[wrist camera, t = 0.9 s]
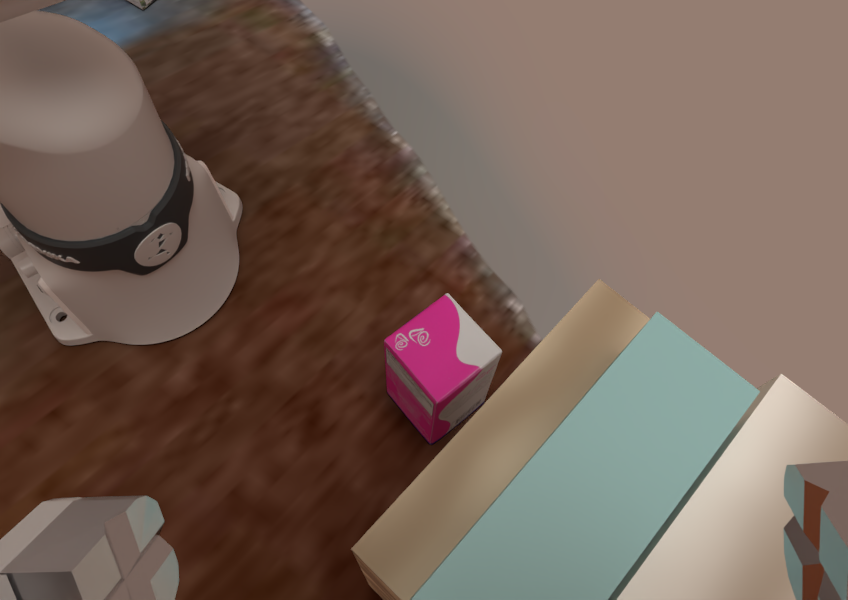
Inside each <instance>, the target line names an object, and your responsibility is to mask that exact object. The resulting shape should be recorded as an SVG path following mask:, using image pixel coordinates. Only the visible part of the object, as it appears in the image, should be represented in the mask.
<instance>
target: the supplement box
mask: <svg viewBox="0 0 848 600" xmlns="http://www.w3.org/2000/svg"><path fill="white" fill-rule="evenodd" d="M384 348H385V364H386V382H387V393H388V395H389V396H390V397H391V398H392V399H393V401H394V402H395V403H396V404H397V406H398V407H399V408H400V409H401V410H402V412H403V413H404V414H405V415H406V417H407V418H408V419H409V420H410V422H411V423H412V424H413V425H414V426H415V428H416V429H417V430H418V431H419V432H420V434H421V435H422V436H423V437H424V438H425V440H426V441H427V442H428V443H429V444H430V445H432V444H434V443H436V442H437V441H438V440H440V439H441V438H442V437H443V436H445V435H446V434H447V433H448V432H450V431H451V430H452V429H453V428H455V427H456V426H457V425H458V424H459V423H461V422H462V421H463V420H464V419H466V418H467V417H468V416H469V415H470V414H472V413H473V412H474V411H475V410H476V409H477V408H479V407H480V406H481V405H482V404H483V403H484V401H485V398H486V395H487V392H488V389H489V386H490V384H491V381H492V378H493V376H494V373H495V370H496V367H497V364H498V362H499V359H500V356H501V354H502V350H501V349H500V348H499V347H498V346H497V345H496V344H495V343H494V342H493V341H492V339H491V338H490V337H489V336H488V335H487V334H486V333H485V332H484V331H483V330H482V329H481V328H480V327H479V326H478V325H477V324H476V323H475V322H474V321H473V319H472V318H471V317H470V316H469V315H468V314H467V313H466V312H465V311H464V310H463V309H462V308H461V307H460V306H459V304H458V303H457V302H456V301H455V300H454V299H453V298H452V297H451V296H450V295H449V294H448V293H447V294H445V295H444V296H442V297H441V298H440V299H438V300H437V301H435V302H434V303H433V304H432V305H430V306H429V307H427V308H426V309H425V310H423V311H422V312H421V313H419V314H418V315H417V316H415V317H414V318H413V319H411V320H410V321H409V322H407V323H406V324H405V325H403V326H402V327H401V328H399V329H398V330H397V331H395V332H394V333H393V334H391V335H390V336H389V337H387V338H386V339H385V340H384Z"/></svg>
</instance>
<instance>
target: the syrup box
mask: <svg viewBox="0 0 848 600" xmlns="http://www.w3.org/2000/svg"><path fill="white" fill-rule="evenodd" d="M127 1H129V2H131V3H132V4H134V5H136V6H137V7H139V8H141V9H142V10H144V9H145V8H146V7H148V6H149V5H150V4H151V3H152V2H154V1H155V0H127Z"/></svg>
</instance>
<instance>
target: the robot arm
mask: <svg viewBox="0 0 848 600" xmlns="http://www.w3.org/2000/svg"><path fill="white" fill-rule="evenodd" d="M62 1H65V0H0V249H1V250H2V252H3V253H4V254H5V255H6V256H7V257H8V258H10V259H11V261H12V262H13V264H14V266H15V268H16V270H17V271H18V273H19V275H20V277H21V278H22V280H23V282H24V284H25V286H26V287H27V289H28V291H29V293H30V295H31V296H32V298H33V300H34V302H35V303H36V305H37V307H38V309H39V311H40V312H41V314H42V316H43V318H44V320H45V321H46V323H47V325H48V327H49V329H50V330H51V332H52V334H53V335H54V337H55V338H56V339H57V340H58V342H60V343H61V344H63V345H69V346H72V345H80V344H86V343H91V342H95V341H112V342H118V343H124V344H132V345H146V344H155V343H161V342H165V341H169V340H172V339H175V338H178V337H180V336H182V335H185V334H187V333H189V332H191V331H192V330H194V329H196V328H197V327H199V326H200V325H202V324H203V323H204V322H206V321H207V320H208V319H209V318H210V317H212V316H213V315H214V314H215V313H216V312H217V311H218V309H219V308H220V307H221V306H222V305H223V303H224V302H225V300H226V299H227V297H228V296H229V294H230V292H231V290H232V288H233V286H234V283H235V281H236V277H237V274H238V268H239V249H238V243H237V235H236V233H237V227H238V224H239V221H240V218H241V214H242V209H243V205H242V202H241V200H240V198H239V196H238V195H237V194H236V193H235V192H233V191H231V190H230V189H228V188H226V187H224V186H223V185H221V184H219V183H218V182H216V181H214V179H213V177H212V175H211V173H210V171H209V169H208V167H207V166H206V165H205V164H204V162H202V161H196V160H194V159H193V158H191V157H190V156H188V155H186V154H185V153H184V151H183V149H182V147H181V145H180V143H179V142H178V140H177V139H176V138H175V136H174V135H173V133H172V132H171V130H170V129H169V128H168V127H167V125H166V124H165V123H164V122H163V121H162V120H160V118H159V115H158V113H157V111H156V109H155V106H154V104H153V102H152V100H151V97H150V95H149V93H148V91H147V89H146V86H145V84H144V82H143V80H142V78H141V75H140V73H139V71H138V69H137V67H136V66H135V64H134V62H133V61H132V60H131V58H130V57H129V56H128V55H127V54H126V53H125V52H124V51H123V50H122V49H121V48H120V47H119V46H118V45H117V44H116V43H114V42H113V41H112V40H110V39H109V38H107V37H106V36H105V35H103V34H101V33H100V32H98V31H96V30H95V29H93V28H91V27H89V26H87V25H86V24H84V23H82V22H79V21H77V20H75V19H72V18H70V17H67V16H63V15H59V14H55V13H49V12H44V11H36V10H39V9H41V8H44V7H47V6H50V5H53V4H56V3H59V2H62ZM65 315H67V318H66V319H65V320H64V321H62V322H59V321H60V318H61V317H62V316H65ZM784 497H785V499H786V501H787V503H788V505H789V506H790V508H791V510H792V512H793V514H794V516H793V517H792V519H791V520H790V521H789V522H788V523H787V524H786V525H785V527H784V528H783V532H784V555H785V561H786V567H787V573H788V578H789V581H790V584H791V587H792V590H793V593H794V596H795V598H796V600H848V461H833V462H819V463H805V464H790V465H787V466H786V471H785V475H784ZM164 522H165V521H164V518H163V516H162V513H161V510H160V508H159V505H158V502H157V501H156V500H154V499H152V498H150V497H148V496H112V497H85V498H81V497H74V498H59V499H52V500H48V501H44V502H42V503H40V504H39V505H38V506H37V507H36V508H35V509H34V510H33V511H32V512H31V513H29V514H28V515H27V516H26V517H25V518H24V519H23V520H22V521H21V522H19V523H18V524H17V525H16V526H15V527H14V528H13V529H12V530H11V531H10V532H8V533H7V534H6V535H5V536H4V537H3V538H2V539H1V540H0V600H175V596H176V592H177V588H178V584H179V569H178V561H177V558H176V555H175V552H174V549H173V548H172V547H171V546H170V545H169V544H168V543H167V542H166V541H165V540H164V539H163V538H161V537H160V536H159V534H160V532H161V529H162V527H163V525H164Z"/></svg>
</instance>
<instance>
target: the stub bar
mask: <svg viewBox="0 0 848 600" xmlns="http://www.w3.org/2000/svg"><path fill="white" fill-rule="evenodd" d="M759 393H760V391H759V390H758V389H756V388H755V387H754V386H753V385H751V384H750V383H749V382H747V381H746V380H745V379H743V378H742V377H741V376H740V375H738V374H737V373H736V372H734V371H733V370H732V369H731V368H729V367H728V366H727V365H725V364H724V363H723V362H722V361H720V360H719V359H718V358H716V357H715V356H714V355H713V354H711V353H710V352H709V351H707V350H706V349H705V348H704V347H702V346H701V345H700V344H698V343H697V342H696V341H694V340H693V339H692V338H691V337H689V336H688V335H687V334H686V333H684V332H683V331H682V330H680V329H679V328H678V327H677V326H675V325H674V324H673V323H671V322H670V321H669V320H667V319H666V318H665V317H663V316H662V315H661V314H660V313H658V312H656V313H655V314H654V316H653V317H652V318H651V319H650V320H649V321H648V322H647V323H646V325H645V326H644V327H643V328H642V329H641V330H640V331H639V332H638V334H637V335H636V336H635V337H634V338H633V339H632V340H631V341H630V343H629V344H628V345H627V346H626V347H625V348H624V349H623V350H622V352H621V353H620V354H619V355H618V356H617V357H616V359H615V360H614V361H613V362H612V363H611V364H610V366H609V367H608V368H607V369H606V370H605V371H604V373H603V374H602V375H601V376H600V377H599V378H598V380H597V381H596V382H595V383H594V384H593V386H592V387H591V388H590V389H589V390H588V391H587V393H586V394H585V395H584V396H583V397H582V398H581V400H580V401H579V402H578V403H577V404H576V405H575V407H574V408H573V409H572V410H571V411H570V412H569V414H568V415H567V416H566V417H565V418H564V419H563V421H562V422H561V423H560V424H559V425H558V427H557V428H556V429H555V430H554V431H553V432H552V434H551V435H550V436H549V437H548V438H547V439H546V441H545V442H544V443H543V444H542V445H541V446H540V448H539V449H538V450H537V451H536V452H535V453H534V455H533V456H532V457H531V458H530V459H529V460H528V462H527V463H526V464H525V465H524V466H523V467H522V469H521V470H520V471H519V472H518V473H517V475H516V476H515V477H514V478H513V479H512V480H511V482H510V483H509V484H508V485H507V486H506V487H505V489H504V490H503V491H502V492H501V493H500V494H499V496H498V497H497V498H496V499H495V500H494V501H493V503H492V504H491V505H490V506H489V507H488V508H487V510H486V511H485V512H484V513H483V514H482V515H481V517H480V518H479V519H478V520H477V521H476V523H475V524H474V525H473V526H472V527H471V528H470V530H469V531H468V532H467V533H466V534H465V535H464V537H463V538H462V539H461V540H460V541H459V542H458V544H457V545H456V546H455V547H454V548H453V549H452V551H451V552H450V553H449V554H448V555H447V556H446V558H445V559H444V560H443V561H442V562H441V564H440V565H439V566H438V567H437V568H436V569H435V571H434V572H433V573H432V574H431V575H430V576H429V578H428V579H427V580H426V581H425V582H424V583H423V585H422V586H421V587H420V588H419V589H418V590H417V592H416V593H415V594H414V595H413V596H412V597H411V599H410V600H608V599H609V597H610V596H611V594H612V593H613V592H614V590H615V589H616V588H617V586H618V585H619V584H620V582H621V581H622V580H623V578H624V577H625V575H626V574H627V573H628V571H629V570H630V569H631V567H632V566H633V565H634V563H635V562H636V560H637V559H638V558H639V556H640V555H641V554H642V552H643V551H644V550H645V548H646V547H647V545H648V544H649V543H650V541H651V540H652V539H653V537H654V536H655V535H656V533H657V532H658V530H659V529H660V528H661V526H662V525H663V524H664V522H665V521H666V520H667V518H668V517H669V515H670V514H671V513H672V511H673V510H674V509H675V507H676V506H677V505H678V503H679V502H680V500H681V499H682V498H683V496H684V495H685V494H686V492H687V491H688V490H689V488H690V487H691V486H692V484H693V483H694V481H695V480H696V479H697V477H698V476H699V475H700V473H701V472H702V471H703V469H704V468H705V466H706V465H707V464H708V462H709V461H710V460H711V458H712V457H713V456H714V454H715V453H716V451H717V450H718V449H719V447H720V446H721V445H722V443H723V442H724V441H725V439H726V438H727V436H728V435H729V434H730V432H731V431H732V430H733V428H734V427H735V426H736V424H737V423H738V421H739V420H740V419H741V417H742V416H743V415H744V413H745V412H746V411H747V409H748V408H749V406H750V405H751V404H752V402H753V401H754V400H755V398H756V397H757V396H758V394H759Z"/></svg>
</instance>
